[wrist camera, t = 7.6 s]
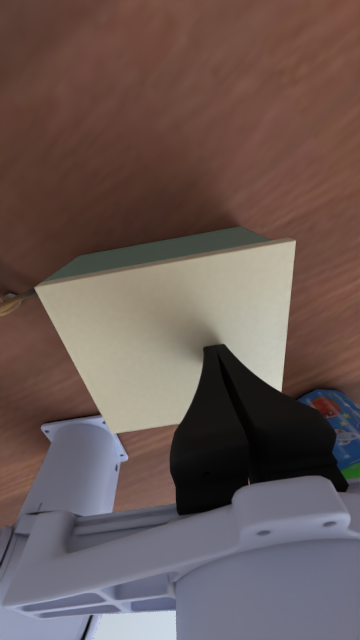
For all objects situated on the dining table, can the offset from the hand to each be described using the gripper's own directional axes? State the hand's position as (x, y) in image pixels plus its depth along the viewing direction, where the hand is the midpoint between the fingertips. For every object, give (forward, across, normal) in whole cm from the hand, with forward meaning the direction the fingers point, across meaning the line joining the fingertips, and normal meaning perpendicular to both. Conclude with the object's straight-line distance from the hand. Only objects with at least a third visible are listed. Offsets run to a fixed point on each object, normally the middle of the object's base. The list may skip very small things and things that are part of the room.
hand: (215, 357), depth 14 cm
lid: (+1, +2, 0) cm, 2 cm away
